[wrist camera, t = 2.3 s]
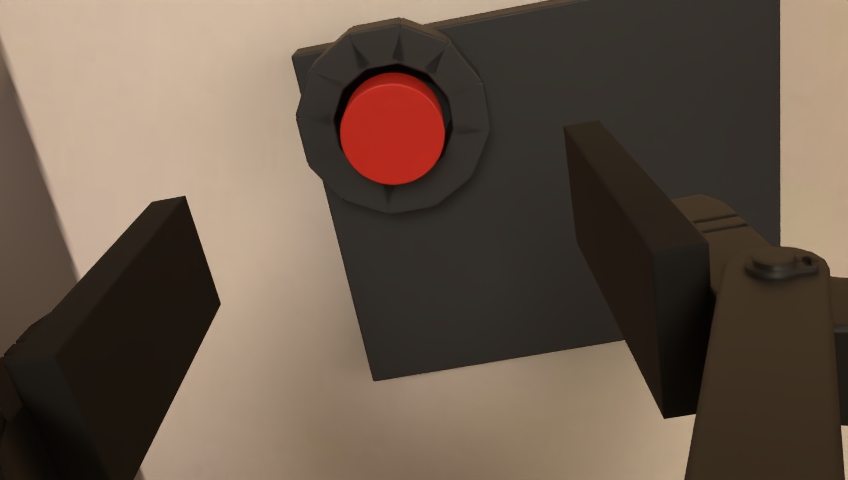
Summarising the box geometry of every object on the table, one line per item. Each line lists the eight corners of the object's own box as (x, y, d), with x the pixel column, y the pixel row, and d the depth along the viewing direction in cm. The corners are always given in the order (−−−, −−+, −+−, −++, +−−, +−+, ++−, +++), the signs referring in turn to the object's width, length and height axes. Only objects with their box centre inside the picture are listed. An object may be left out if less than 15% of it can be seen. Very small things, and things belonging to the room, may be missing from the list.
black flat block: (373, 363, 31) (369, 406, 29) (291, 33, 26) (276, 47, 23) (765, 298, 30) (800, 336, 28) (762, -60, 25) (805, -56, 22)
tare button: (356, 176, 25) (352, 193, 24) (334, 82, 24) (329, 94, 23) (450, 159, 25) (452, 175, 24) (433, 63, 24) (434, 74, 22)
